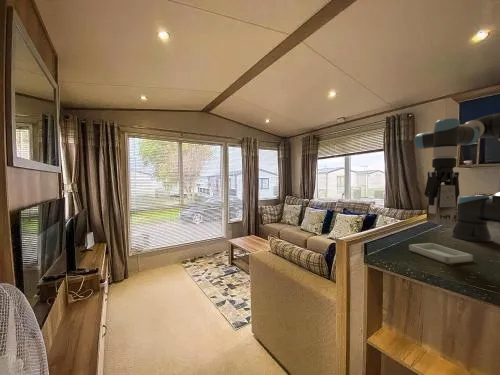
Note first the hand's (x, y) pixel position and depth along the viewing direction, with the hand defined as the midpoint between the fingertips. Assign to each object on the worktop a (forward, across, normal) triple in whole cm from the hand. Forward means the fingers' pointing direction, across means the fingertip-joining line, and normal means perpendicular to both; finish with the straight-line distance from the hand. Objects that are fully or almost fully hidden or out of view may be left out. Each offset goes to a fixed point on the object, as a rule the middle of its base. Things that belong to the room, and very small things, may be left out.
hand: (440, 213), depth 94 cm
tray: (+18, 0, 0) cm, 18 cm away
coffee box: (+4, 0, 0) cm, 4 cm away
